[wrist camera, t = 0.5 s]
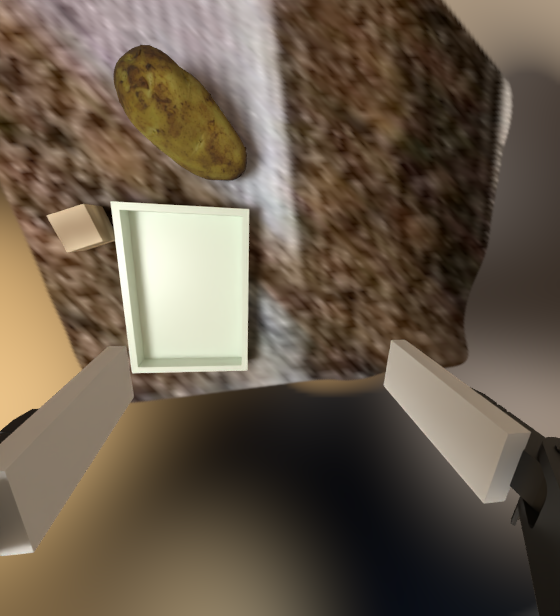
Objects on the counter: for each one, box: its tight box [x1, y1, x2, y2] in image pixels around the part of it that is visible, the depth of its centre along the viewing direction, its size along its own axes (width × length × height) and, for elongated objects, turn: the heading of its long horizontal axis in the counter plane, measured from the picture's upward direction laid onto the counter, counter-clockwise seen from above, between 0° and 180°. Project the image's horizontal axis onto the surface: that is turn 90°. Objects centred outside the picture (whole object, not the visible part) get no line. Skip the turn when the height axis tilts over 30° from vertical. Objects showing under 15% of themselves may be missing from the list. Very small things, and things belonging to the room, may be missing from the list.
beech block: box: [47, 204, 115, 253], centre depth 31 cm, size 4×4×4 cm
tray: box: [110, 201, 249, 373], centre depth 35 cm, size 21×15×3 cm
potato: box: [114, 45, 247, 180], centre depth 27 cm, size 8×13×8 cm, turn 34°
